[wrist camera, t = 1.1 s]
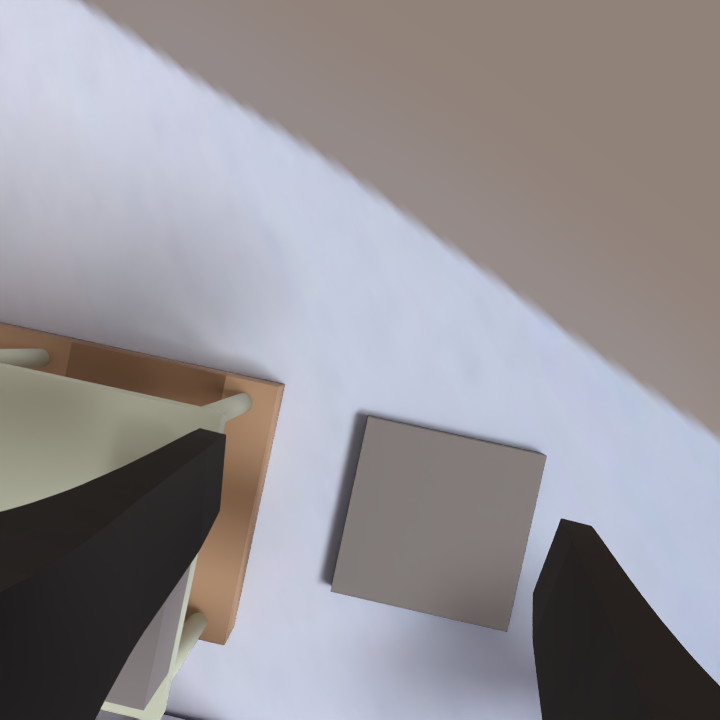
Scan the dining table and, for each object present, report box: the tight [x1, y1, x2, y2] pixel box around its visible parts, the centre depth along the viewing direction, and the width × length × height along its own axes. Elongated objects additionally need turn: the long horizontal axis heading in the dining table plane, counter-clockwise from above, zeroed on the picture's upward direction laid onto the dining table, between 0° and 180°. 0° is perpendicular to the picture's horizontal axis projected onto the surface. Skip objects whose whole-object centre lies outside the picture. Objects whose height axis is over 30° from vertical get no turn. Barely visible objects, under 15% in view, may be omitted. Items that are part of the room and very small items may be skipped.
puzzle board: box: [0, 322, 285, 645], centre depth 24 cm, size 10×16×2 cm, turn 78°
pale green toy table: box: [0, 349, 253, 720], centre depth 19 cm, size 9×9×7 cm
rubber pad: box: [331, 416, 547, 632], centre depth 24 cm, size 7×7×1 cm
